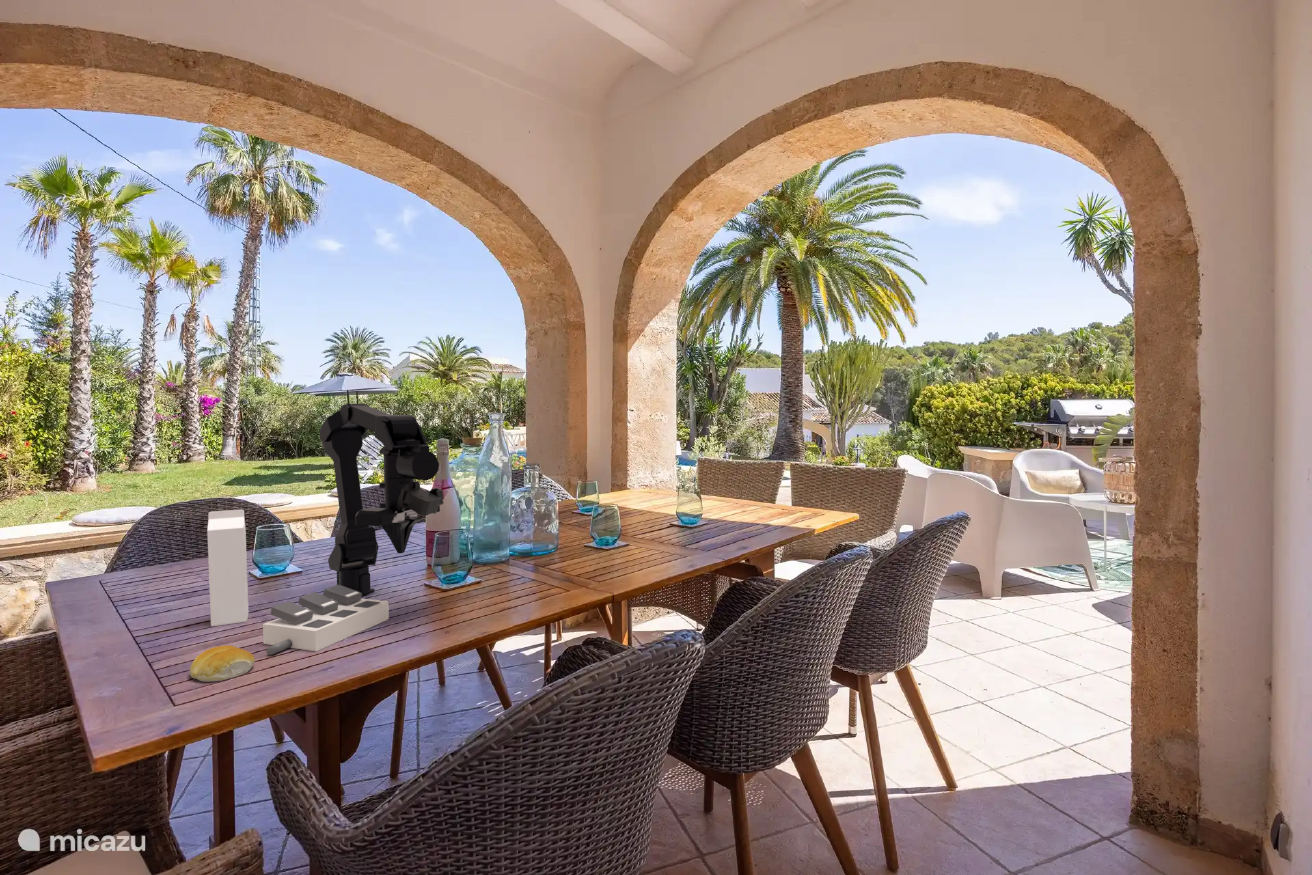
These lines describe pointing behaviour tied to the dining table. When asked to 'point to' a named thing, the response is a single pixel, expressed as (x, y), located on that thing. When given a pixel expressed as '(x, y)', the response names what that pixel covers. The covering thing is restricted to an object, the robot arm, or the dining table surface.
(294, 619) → the rocker
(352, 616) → the power strip
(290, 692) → the dining table surface
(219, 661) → the bread roll
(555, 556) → the dining table surface
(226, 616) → the milk
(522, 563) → the dining table surface
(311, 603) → the rocker middle
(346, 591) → the rocker
